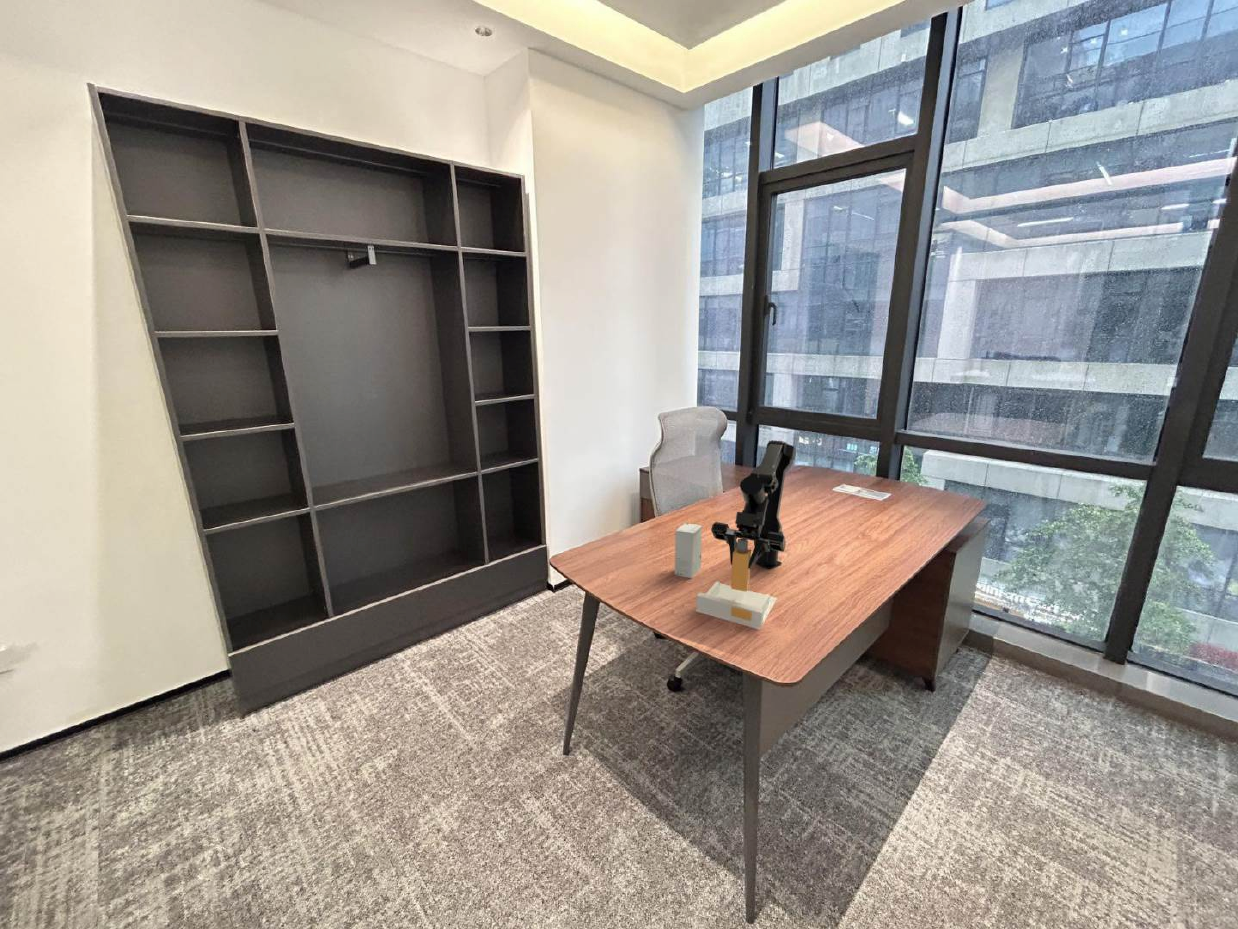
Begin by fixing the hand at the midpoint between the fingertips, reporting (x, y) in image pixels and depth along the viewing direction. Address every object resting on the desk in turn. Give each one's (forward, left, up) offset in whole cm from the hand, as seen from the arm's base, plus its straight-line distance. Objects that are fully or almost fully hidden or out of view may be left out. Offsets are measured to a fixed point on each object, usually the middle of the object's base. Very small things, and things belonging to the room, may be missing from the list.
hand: (740, 566), depth 128 cm
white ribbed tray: (-3, -2, -13) cm, 14 cm away
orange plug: (-1, -1, -6) cm, 7 cm away
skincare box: (-6, -25, -14) cm, 29 cm away
